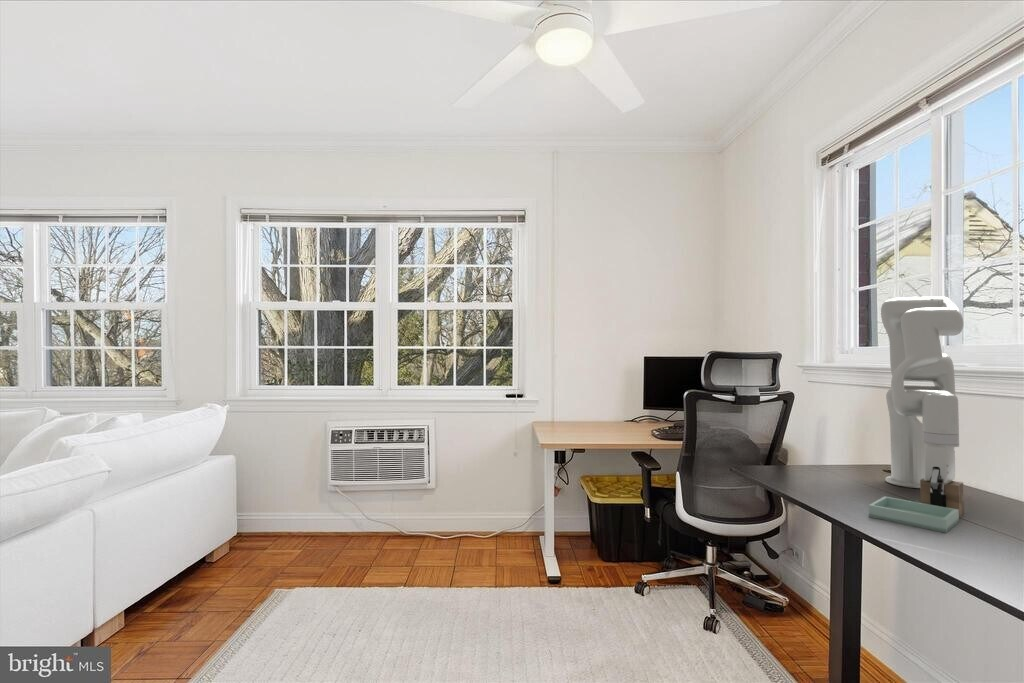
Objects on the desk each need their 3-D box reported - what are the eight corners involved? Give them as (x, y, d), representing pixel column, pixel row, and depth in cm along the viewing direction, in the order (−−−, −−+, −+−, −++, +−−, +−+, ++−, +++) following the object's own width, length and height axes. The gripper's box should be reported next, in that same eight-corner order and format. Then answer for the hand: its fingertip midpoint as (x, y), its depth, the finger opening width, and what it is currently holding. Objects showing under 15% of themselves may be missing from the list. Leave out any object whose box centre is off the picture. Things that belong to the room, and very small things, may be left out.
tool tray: (884, 507, 142) (884, 496, 142) (958, 521, 130) (958, 509, 130) (868, 516, 134) (868, 505, 134) (946, 532, 122) (946, 520, 122)
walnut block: (926, 506, 143) (925, 477, 143) (963, 513, 137) (963, 482, 137) (920, 509, 140) (920, 479, 140) (959, 517, 133) (958, 485, 134)
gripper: (931, 434, 147) (932, 497, 146) (913, 441, 136) (915, 509, 136) (966, 437, 141) (967, 503, 141) (950, 445, 130) (952, 516, 130)
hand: (942, 506), depth 138 cm, fingers open, 6 cm apart
